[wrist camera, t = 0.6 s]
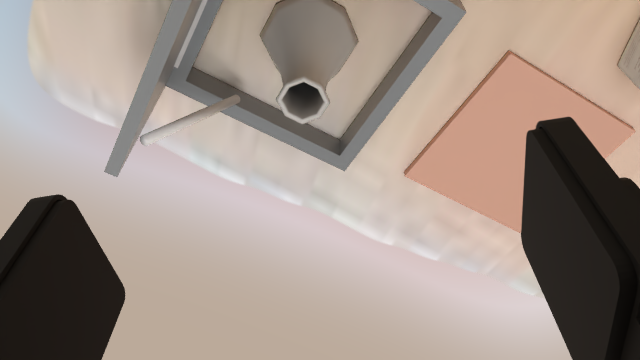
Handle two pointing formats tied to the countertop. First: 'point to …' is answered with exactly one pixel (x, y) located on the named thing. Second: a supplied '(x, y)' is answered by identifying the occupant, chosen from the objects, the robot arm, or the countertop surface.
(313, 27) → the flask
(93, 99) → the countertop surface
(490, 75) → the plate
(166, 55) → the case
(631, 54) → the supplement box
